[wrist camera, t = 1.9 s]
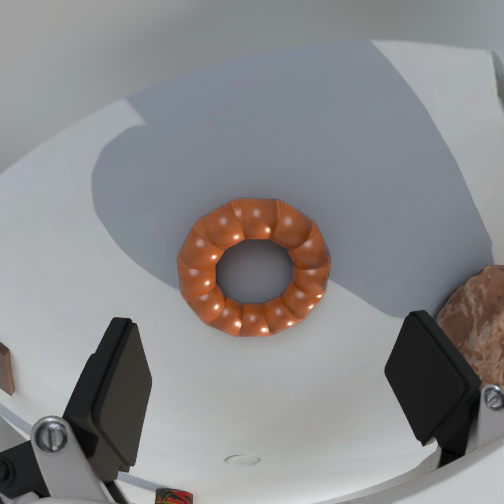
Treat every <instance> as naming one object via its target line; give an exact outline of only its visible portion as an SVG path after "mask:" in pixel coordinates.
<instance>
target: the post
mask: <svg viewBox="0 0 504 504" xmlns="http://www.w3.org/2000/svg"><path fill="white" fill-rule="evenodd" d="M0 388H1V389H2V390H3V391H5V392H6V393H8V394H9V395H10V396H12V394H13V392H14V391H15V389H14V384H13V377H12V370H11V363H10V354H9V349H7V348H6V347H5V346H3V345H2V344H1V343H0Z"/></svg>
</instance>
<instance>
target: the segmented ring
mask: <svg viewBox="0 0 504 504" xmlns="http://www.w3.org/2000/svg"><path fill="white" fill-rule="evenodd" d="M245 239H269V240H271V241H273V242H275V243H276V244H278V245H280V246H282V247H283V248H285V249H286V250H287V252H288V253H289V255H290V257H291V259H292V261H293V263H294V268H293V277H292V281H291V282H290V283H289V285H288V286H287V287H286V289H285V290H284V291H283V293H282V294H281V295H279V296H277V297H275V298H273V299H271V300H269V301H267V302H265V303H247V304H242V303H240V302H238V301H236V300H234V299H232V298H230V297H228V296H226V295H225V294H224V293H223V291H222V290H221V289H220V287H219V286H218V284H217V283H216V270H215V266H216V264H217V262H218V261H219V259H220V258H221V256H222V254H223V253H224V251H225V250H226V249H228V248H230V247H231V246H233V245H235V244H237V243H239V242H241V241H243V240H245ZM177 262H178V273H179V283H180V291H181V295H182V297H183V298H184V299H185V301H186V302H187V303H188V305H189V306H190V307H191V308H192V310H193V311H194V312H195V313H196V315H197V316H198V317H199V318H200V320H201V321H202V322H203V323H205V324H207V325H209V326H211V327H213V328H216V329H218V330H220V331H223V332H225V333H227V334H230V335H232V336H236V337H258V336H272V335H274V334H276V333H279V332H281V331H283V330H285V329H287V328H289V327H292V326H294V325H296V324H298V323H300V322H301V321H303V320H304V319H305V318H306V317H307V315H308V314H309V313H310V312H311V311H312V309H313V308H314V307H315V306H316V305H317V303H318V302H319V301H320V300H321V298H322V297H323V296H324V294H325V291H326V287H327V281H328V276H329V270H330V264H331V256H330V253H329V251H328V248H327V246H326V244H325V242H324V239H323V237H322V235H321V233H320V230H319V228H318V226H317V224H316V223H315V222H314V221H313V220H312V219H310V218H309V217H307V216H306V215H304V214H303V213H301V212H299V211H298V210H296V209H295V208H293V207H291V206H290V205H288V204H287V203H285V202H283V201H281V200H277V199H235V200H232V201H230V202H228V203H226V204H225V205H223V206H221V207H219V208H217V209H216V210H214V211H212V212H210V213H208V214H207V215H205V216H203V217H201V218H200V219H199V220H198V221H197V222H196V223H195V224H194V226H193V228H192V230H191V232H190V233H189V235H188V237H187V239H186V241H185V242H184V244H183V246H182V248H181V250H180V252H179V254H178V259H177Z"/></svg>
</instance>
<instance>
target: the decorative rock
mask: <svg viewBox="0 0 504 504" xmlns="http://www.w3.org/2000/svg"><path fill="white" fill-rule="evenodd" d="M436 323H437V324H438V326H439V327H440V328H441V329H442V330H443V332H444V333H445V334H446V335H447V337H448V338H449V339H450V340H451V342H452V343H453V344H454V345H455V347H456V348H457V349H458V350H459V352H460V353H461V354H462V355H463V357H464V358H465V359H466V361H467V362H468V363H469V365H470V366H471V367H472V369H473V370H474V371H475V373H476V374H477V375H478V377H479V378H480V380H481V381H482V382H483V383H482V384H481V386H480V387H479V390H480V391H481V390H482V388H483V387H484V386H485V385H487V384H496V385H498V386H500V387H501V388H502V389H504V265H494V266H486V267H484V268H483V269H482V270H481V271H480V272H479V273H478V274H477V275H475V276H473V277H471V278H469V279H468V280H467V281H466V283H465V284H464V285H463V286H460V287H459V288H457V289H456V290H455V292H454V293H453V294H452V296H451V297H450V298H449V299H448V301H447V303H446V304H445V306H444V307H443V308H442V310H441V311H440V312H439V313H438V316H437V319H436Z"/></svg>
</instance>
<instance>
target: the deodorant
mask: <svg viewBox="0 0 504 504" xmlns="http://www.w3.org/2000/svg"><path fill="white" fill-rule="evenodd" d="M155 504H193V495H192V494H190V493H188V492H185V491H180V490H175V489H157V490H156V498H155Z"/></svg>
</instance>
